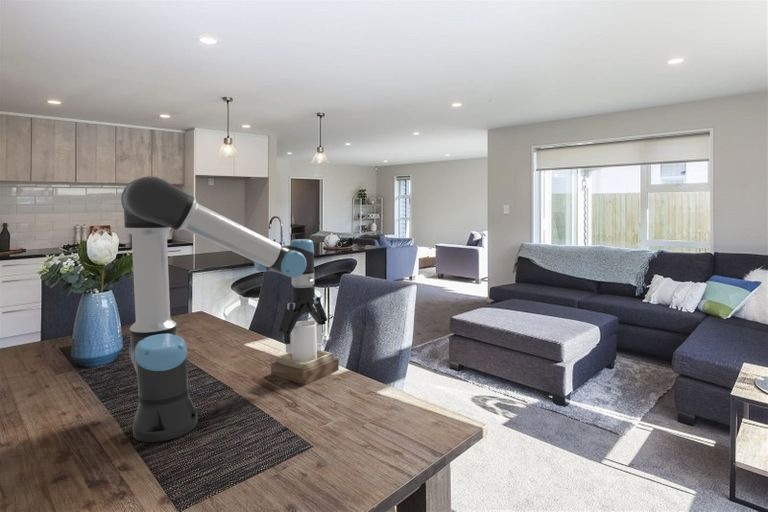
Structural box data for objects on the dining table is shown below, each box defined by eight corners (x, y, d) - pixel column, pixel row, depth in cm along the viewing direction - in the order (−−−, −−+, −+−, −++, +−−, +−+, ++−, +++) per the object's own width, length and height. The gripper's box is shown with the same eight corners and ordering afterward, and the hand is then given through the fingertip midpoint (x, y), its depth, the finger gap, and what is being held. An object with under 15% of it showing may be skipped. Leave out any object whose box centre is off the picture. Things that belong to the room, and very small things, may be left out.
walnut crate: (305, 387, 141) (304, 372, 141) (271, 376, 151) (270, 362, 150) (338, 372, 154) (338, 358, 154) (305, 363, 163) (305, 350, 163)
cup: (314, 374, 148) (313, 326, 146) (290, 374, 148) (288, 327, 146) (319, 365, 156) (318, 320, 154) (295, 365, 156) (294, 320, 155)
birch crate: (305, 382, 143) (304, 364, 142) (276, 373, 151) (276, 356, 150) (333, 370, 154) (332, 353, 153) (305, 362, 162) (305, 346, 161)
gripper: (282, 292, 137) (284, 360, 139) (336, 281, 157) (337, 340, 159) (266, 290, 141) (268, 355, 143) (321, 279, 161) (322, 336, 164)
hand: (304, 347), depth 151 cm, fingers open, 13 cm apart
